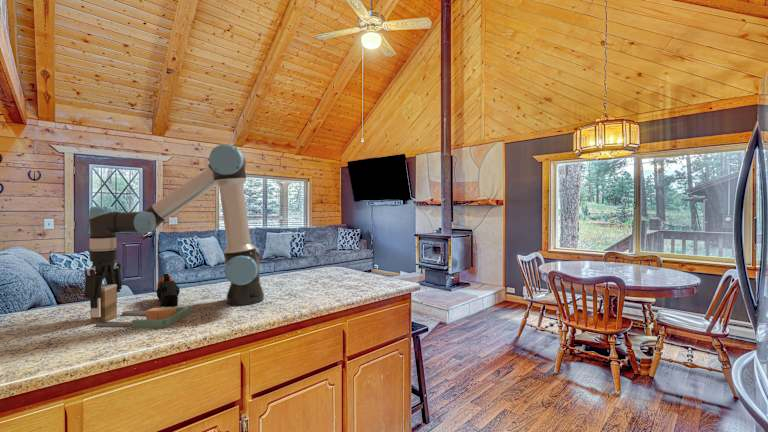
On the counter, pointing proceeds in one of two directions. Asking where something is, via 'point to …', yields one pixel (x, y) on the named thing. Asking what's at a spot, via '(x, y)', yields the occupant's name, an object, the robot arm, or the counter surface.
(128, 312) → the slot rails
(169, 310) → the orange cube piece
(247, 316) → the counter surface
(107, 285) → the light brown tall block
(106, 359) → the counter surface
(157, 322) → the green u-shaped frame
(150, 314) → the orange cubic piece
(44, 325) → the counter surface
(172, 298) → the tool
